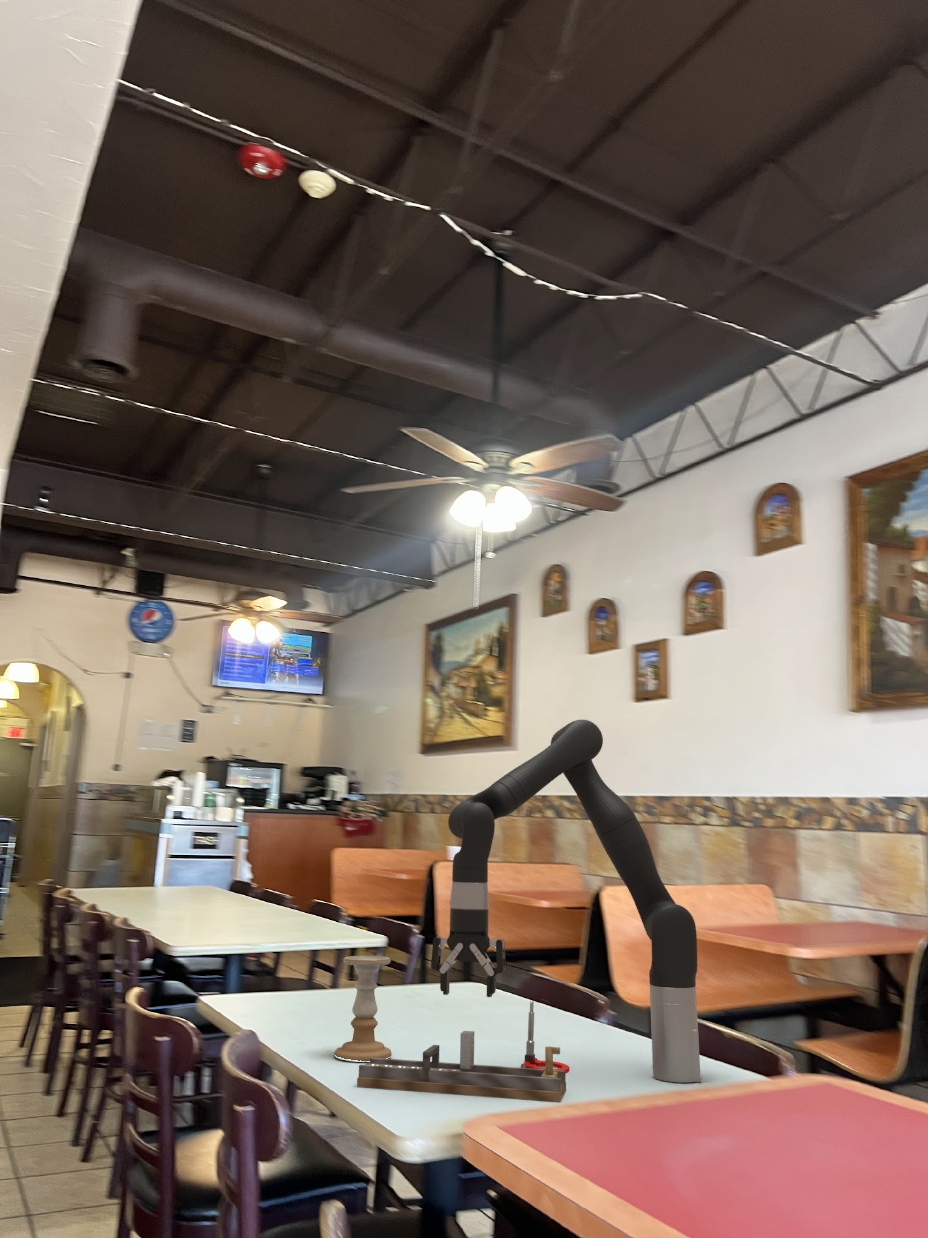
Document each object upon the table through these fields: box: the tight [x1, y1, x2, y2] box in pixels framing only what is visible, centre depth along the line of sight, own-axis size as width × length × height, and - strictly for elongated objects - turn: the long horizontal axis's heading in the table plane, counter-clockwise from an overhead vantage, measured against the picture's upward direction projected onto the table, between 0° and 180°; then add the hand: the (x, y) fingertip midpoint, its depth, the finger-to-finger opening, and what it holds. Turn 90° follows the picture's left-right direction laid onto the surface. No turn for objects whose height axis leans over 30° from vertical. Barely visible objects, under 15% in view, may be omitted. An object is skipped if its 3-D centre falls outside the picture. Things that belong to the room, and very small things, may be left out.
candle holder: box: [334, 955, 392, 1061], centre depth 195 cm, size 12×12×20 cm
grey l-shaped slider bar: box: [363, 1030, 475, 1072], centre depth 169 cm, size 21×3×8 cm, turn 77°
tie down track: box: [356, 1044, 567, 1103], centre depth 167 cm, size 38×9×8 cm, turn 77°
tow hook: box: [520, 1000, 571, 1074], centre depth 185 cm, size 8×13×9 cm
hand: (467, 995), depth 170 cm, fingers open, 8 cm apart
